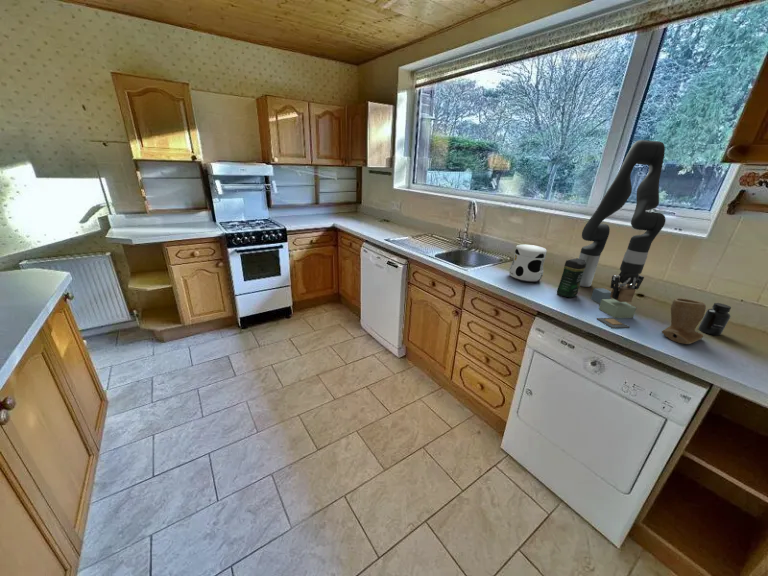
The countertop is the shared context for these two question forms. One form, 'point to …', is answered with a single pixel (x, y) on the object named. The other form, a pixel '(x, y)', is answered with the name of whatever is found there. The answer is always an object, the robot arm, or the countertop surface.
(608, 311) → the sage base block
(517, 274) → the milk container
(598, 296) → the blue-grey cube
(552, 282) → the countertop surface
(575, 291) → the coffee jar
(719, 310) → the supplement bottle
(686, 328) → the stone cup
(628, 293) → the walnut cube
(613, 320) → the tile
